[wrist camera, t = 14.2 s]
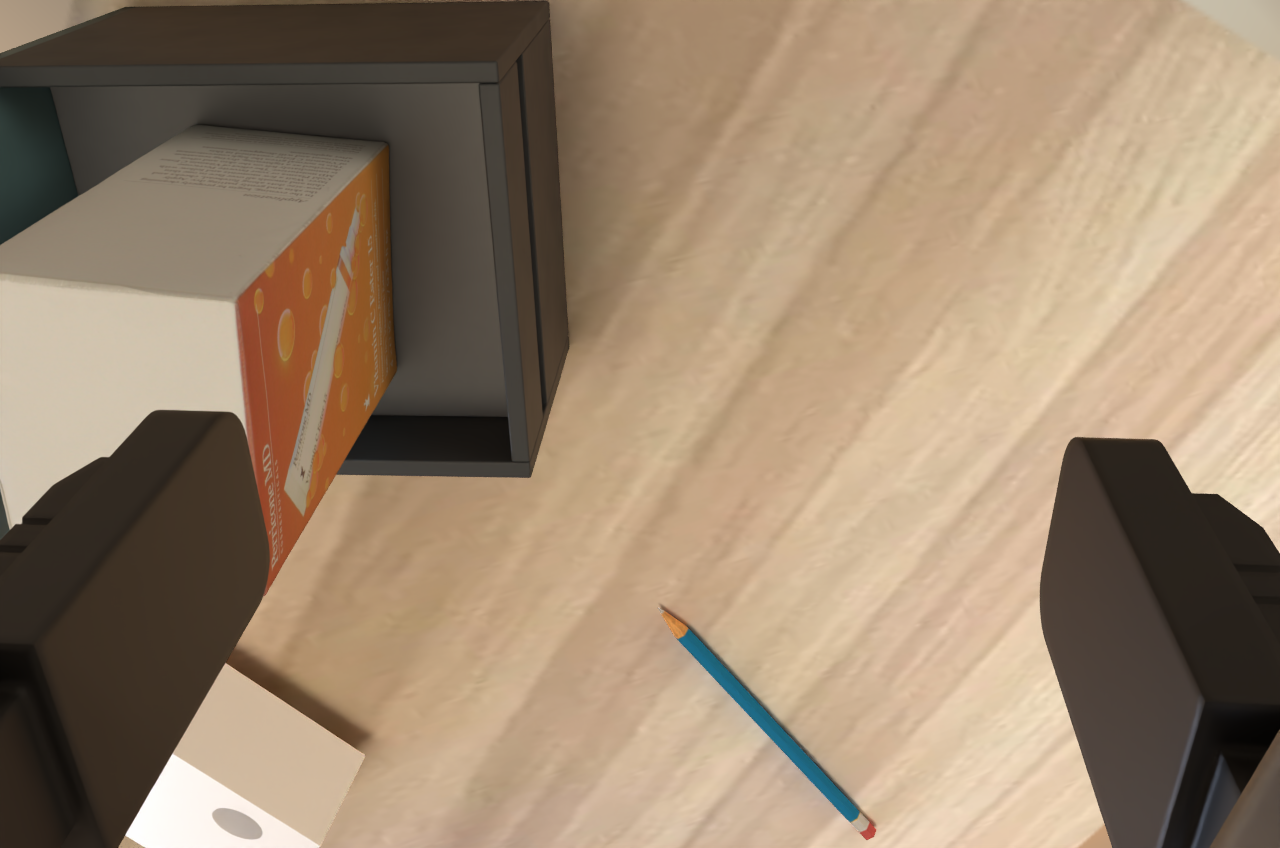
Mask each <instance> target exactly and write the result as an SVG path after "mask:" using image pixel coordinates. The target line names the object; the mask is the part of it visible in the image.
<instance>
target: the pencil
mask: <svg viewBox="0 0 1280 848" xmlns="http://www.w3.org/2000/svg"><path fill="white" fill-rule="evenodd" d="M658 608H659V607H658ZM659 611H660V613H661V615H662V616H663V618H664V620H665V621H666V623H667V625H668V626H669V628H670V630H671V631H672V633H673V635H674V636H675V637H676V638H677V639H678V641H679V642H680V643H681V644H682V645H683V646H684V647H685V648H686V649H687V650H688V651H689V652H690V653H691V654H692V655H693V656H694V657H695V659H696V660H697V661H698V662H699V663H700V664H701V665H702V666H703V667H704V668H705V669H706V670H707V671H708V672H709V673H710V674H711V676H712V677H713V678H714V679H715V680H716V681H717V682H718V683H719V684H720V685H721V686H722V687H723V688H724V689H725V690H726V691H727V693H728V694H729V695H730V696H731V697H732V698H733V699H734V700H735V701H736V702H737V703H738V704H739V705H740V706H741V707H742V708H743V710H744V711H745V712H746V713H747V714H748V715H749V716H750V717H751V718H752V719H753V720H754V721H755V722H756V723H757V724H758V725H759V726H760V728H761V729H762V730H763V731H764V732H765V733H766V734H767V735H768V736H769V737H770V738H771V739H772V740H773V741H774V742H775V743H776V745H777V746H778V747H779V748H780V749H781V750H782V751H783V752H784V753H785V754H786V755H787V756H788V757H789V758H790V759H791V760H792V762H793V763H794V764H795V765H796V766H797V767H798V768H799V769H800V770H801V771H802V772H803V773H804V774H805V775H806V776H807V777H808V778H809V780H810V781H811V782H812V783H813V784H814V785H815V786H816V787H817V788H818V789H819V790H820V791H821V792H822V793H823V794H824V795H825V797H826V798H827V799H828V800H829V801H830V802H831V803H832V804H833V805H834V806H835V807H836V808H837V809H838V810H839V811H840V812H841V814H842V815H843V816H844V817H845V818H846V819H847V820H848V821H849V822H850V823H851V824H852V825H853V826H854V827H855V828H856V829H857V830H858V832H859V833H860V834H861V835H862V836H863V837H864V838H865V839H866V840H868V839H870V838H873V837H874V835H875V832H876V829H875V828H874V827H873V825H872V824H871V823H870V822H869V821H868V820H867V819H866V818H865V817H864V816H863V815H862V814H861V813H860V812H859V810H858V809H857V808H856V807H855V806H854V805H853V804H852V803H851V802H850V801H849V800H848V799H847V798H846V797H845V795H844V794H843V793H842V792H841V791H840V790H839V789H838V788H837V787H836V786H835V785H834V784H833V783H832V782H831V780H830V779H829V778H828V777H827V776H826V775H825V774H824V773H823V772H822V771H821V770H820V769H819V768H818V767H817V765H816V764H815V763H814V762H813V761H812V760H811V759H810V758H809V757H808V756H807V755H806V754H805V753H804V752H803V750H802V749H801V748H800V747H799V746H798V745H797V744H796V743H795V742H794V741H793V740H792V739H791V738H790V737H789V735H788V734H787V733H786V732H785V731H784V730H783V729H782V728H781V727H780V726H779V725H778V724H777V723H776V721H775V720H774V719H773V718H772V717H771V716H770V715H769V714H768V713H767V712H766V711H765V710H764V709H763V708H762V706H761V705H760V704H759V703H758V702H757V701H756V700H755V699H754V698H753V697H752V696H751V695H750V694H749V693H748V691H747V690H746V689H745V688H744V687H743V686H742V685H741V684H740V683H739V682H738V681H737V680H736V679H735V678H734V676H733V675H732V674H731V673H730V672H729V671H728V670H727V669H726V668H725V667H724V666H723V665H722V664H721V663H720V661H719V660H718V659H717V658H716V657H715V656H714V655H713V654H712V653H711V652H710V651H709V650H708V649H707V648H706V646H705V645H704V644H703V643H702V642H701V641H700V640H699V639H698V638H697V637H696V636H695V635H694V634H693V633H692V631H691V630H690V629H689V628H688V627H687V626H685V625H684V624H683V623H681V622H680V621H678V620H677V619H675V618H674V617H673V616H671V615H670V614H668V613H667V612H666V611H664V610H662V609H660V608H659Z"/></svg>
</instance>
